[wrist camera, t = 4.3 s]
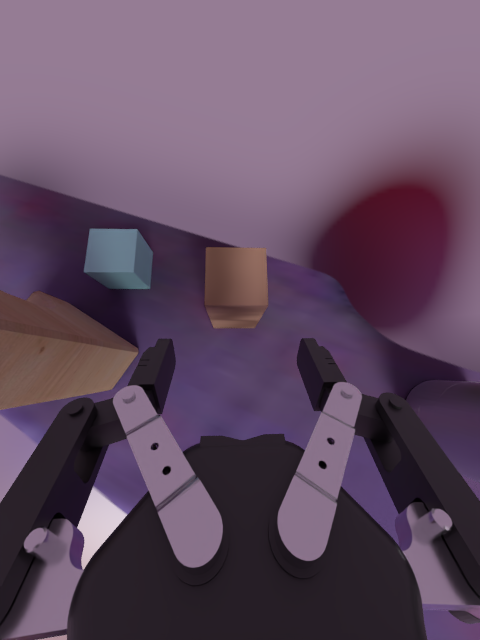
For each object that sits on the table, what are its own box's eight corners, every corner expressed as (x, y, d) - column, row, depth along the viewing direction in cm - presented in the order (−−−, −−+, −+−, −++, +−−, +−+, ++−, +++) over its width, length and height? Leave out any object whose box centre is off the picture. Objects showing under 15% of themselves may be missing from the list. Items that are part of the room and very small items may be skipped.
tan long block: (253, 289, 28) (265, 248, 19) (254, 328, 27) (268, 305, 18) (214, 289, 28) (205, 247, 18) (213, 328, 27) (204, 305, 17)
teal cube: (153, 252, 29) (137, 229, 24) (150, 289, 28) (133, 272, 23) (113, 252, 29) (89, 228, 24) (109, 288, 28) (83, 272, 23)
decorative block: (35, 339, 26) (-566, 250, 6) (69, 300, 27) (-350, 124, 8) (110, 393, 25) (-318, 483, 5) (142, 350, 26) (-117, 299, 7)
